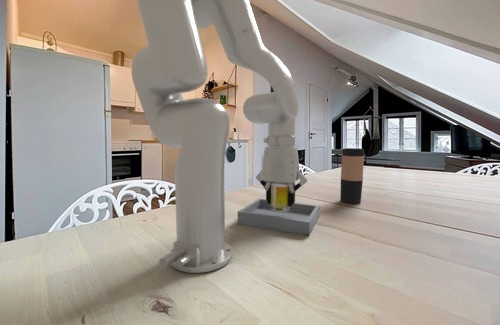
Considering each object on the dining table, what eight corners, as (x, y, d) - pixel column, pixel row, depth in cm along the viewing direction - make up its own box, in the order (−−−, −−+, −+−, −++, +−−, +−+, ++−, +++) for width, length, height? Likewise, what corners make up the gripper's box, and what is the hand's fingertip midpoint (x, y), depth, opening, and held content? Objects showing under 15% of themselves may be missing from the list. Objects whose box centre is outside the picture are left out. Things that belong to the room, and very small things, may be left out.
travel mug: (335, 199, 95) (337, 148, 93) (351, 198, 98) (354, 148, 95) (348, 205, 88) (351, 149, 86) (366, 203, 90) (369, 149, 88)
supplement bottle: (293, 210, 72) (294, 176, 70) (280, 214, 68) (281, 178, 67) (279, 206, 76) (280, 173, 75) (266, 209, 72) (267, 175, 71)
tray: (309, 236, 61) (309, 222, 60) (237, 223, 69) (237, 211, 69) (319, 216, 75) (319, 205, 75) (259, 208, 84) (259, 198, 83)
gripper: (248, 142, 70) (248, 203, 72) (309, 143, 63) (307, 211, 65) (258, 141, 77) (258, 197, 79) (314, 142, 70) (312, 204, 72)
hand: (280, 203), depth 72 cm, fingers closed on supplement bottle, 5 cm apart
